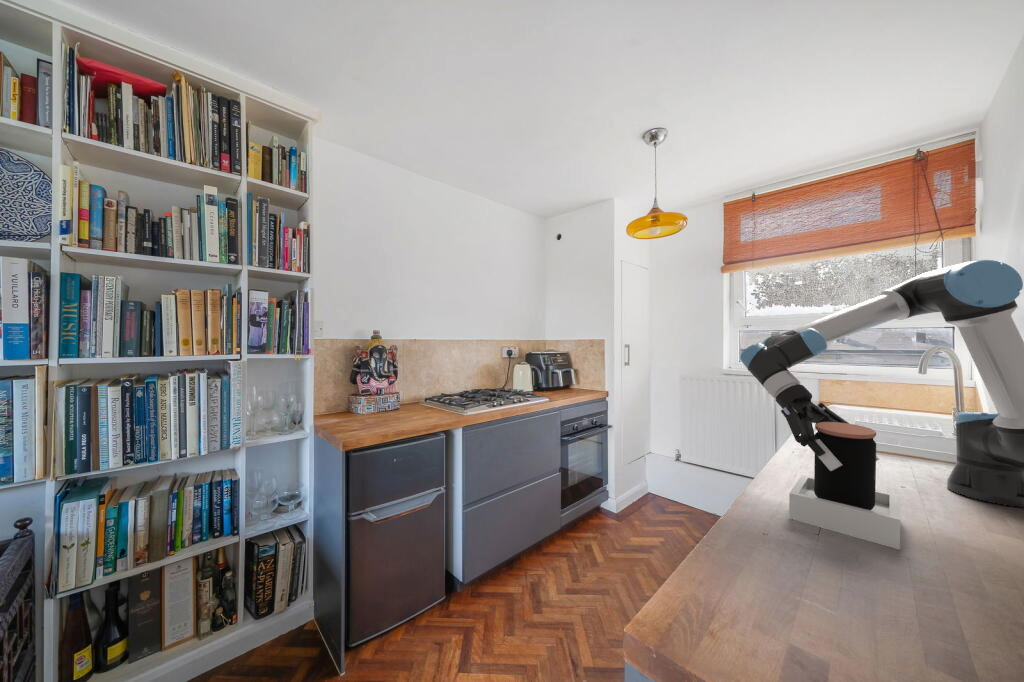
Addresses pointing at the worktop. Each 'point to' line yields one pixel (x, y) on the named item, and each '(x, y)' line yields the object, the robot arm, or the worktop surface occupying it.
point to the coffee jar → (847, 465)
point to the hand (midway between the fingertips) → (855, 465)
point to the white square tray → (847, 514)
